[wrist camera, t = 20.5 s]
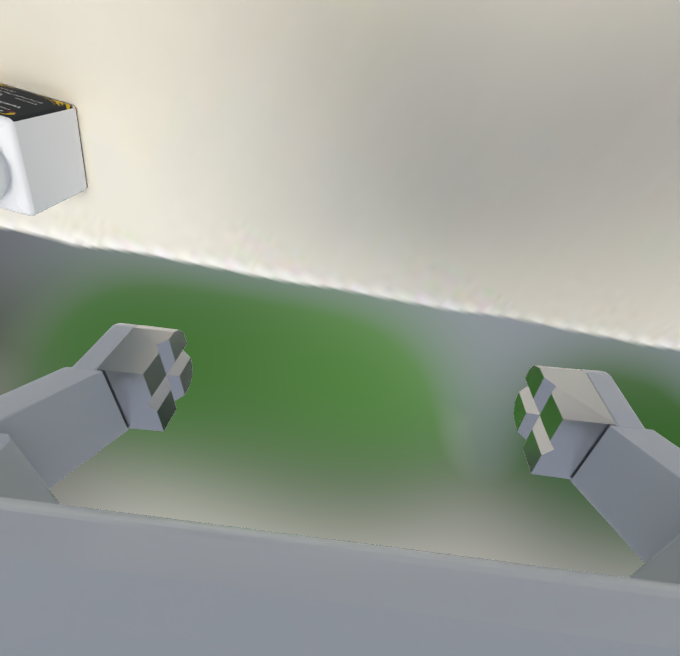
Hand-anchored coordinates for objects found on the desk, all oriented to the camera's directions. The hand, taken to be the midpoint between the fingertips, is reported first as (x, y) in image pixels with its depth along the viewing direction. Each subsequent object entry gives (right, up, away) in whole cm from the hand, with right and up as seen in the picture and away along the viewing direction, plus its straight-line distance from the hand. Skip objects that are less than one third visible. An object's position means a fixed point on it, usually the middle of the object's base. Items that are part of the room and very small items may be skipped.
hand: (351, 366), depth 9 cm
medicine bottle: (-26, +17, +25) cm, 40 cm away
